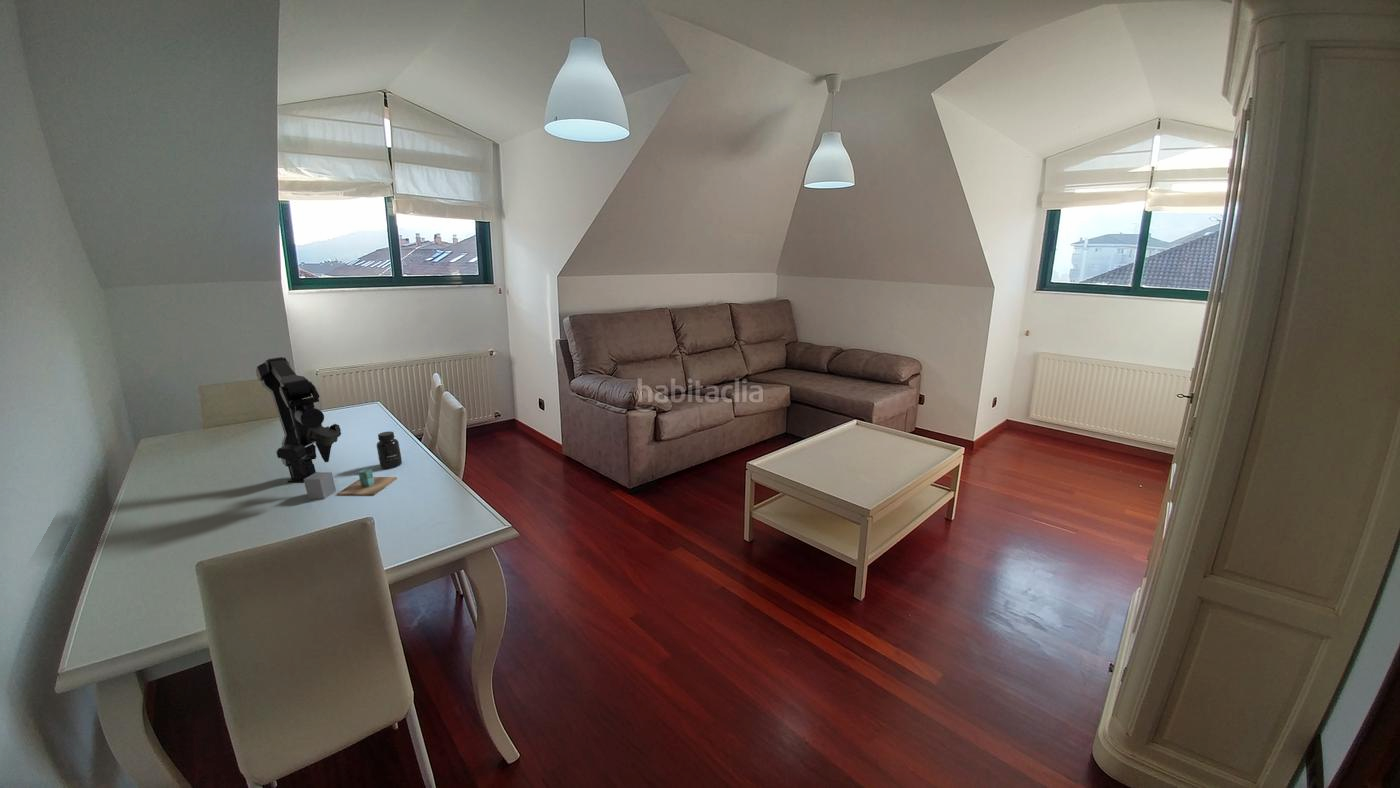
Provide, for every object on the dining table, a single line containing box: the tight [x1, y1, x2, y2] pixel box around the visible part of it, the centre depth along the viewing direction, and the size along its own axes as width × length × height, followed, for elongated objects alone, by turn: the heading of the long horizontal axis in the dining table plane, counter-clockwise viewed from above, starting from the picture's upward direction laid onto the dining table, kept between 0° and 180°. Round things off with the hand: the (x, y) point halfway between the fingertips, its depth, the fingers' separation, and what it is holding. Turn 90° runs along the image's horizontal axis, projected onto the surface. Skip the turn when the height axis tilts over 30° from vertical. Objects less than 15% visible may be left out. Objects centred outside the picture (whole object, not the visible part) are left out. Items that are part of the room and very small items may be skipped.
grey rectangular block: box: [303, 471, 337, 500], centre depth 168 cm, size 5×5×7 cm
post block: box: [336, 468, 398, 496], centre depth 173 cm, size 12×12×6 cm
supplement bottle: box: [376, 431, 403, 470], centre depth 189 cm, size 7×7×12 cm
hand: (315, 468), depth 166 cm, fingers open, 9 cm apart
